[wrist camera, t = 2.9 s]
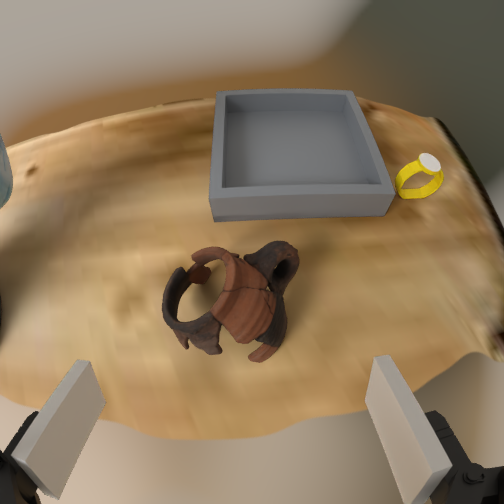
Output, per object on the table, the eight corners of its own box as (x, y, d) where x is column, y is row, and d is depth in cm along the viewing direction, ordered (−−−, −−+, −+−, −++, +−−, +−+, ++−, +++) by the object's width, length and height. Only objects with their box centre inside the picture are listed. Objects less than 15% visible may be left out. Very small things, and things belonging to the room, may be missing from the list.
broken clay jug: (244, 394, 25) (178, 368, 20) (198, 330, 32) (140, 294, 27) (341, 292, 26) (303, 235, 20) (276, 246, 33) (233, 194, 27)
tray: (214, 222, 33) (208, 198, 29) (219, 114, 41) (216, 91, 38) (384, 216, 32) (395, 194, 29) (347, 112, 41) (352, 90, 37)
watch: (424, 186, 35) (445, 154, 29) (433, 204, 33) (455, 173, 28) (386, 185, 34) (404, 150, 29) (393, 204, 33) (415, 169, 28)
